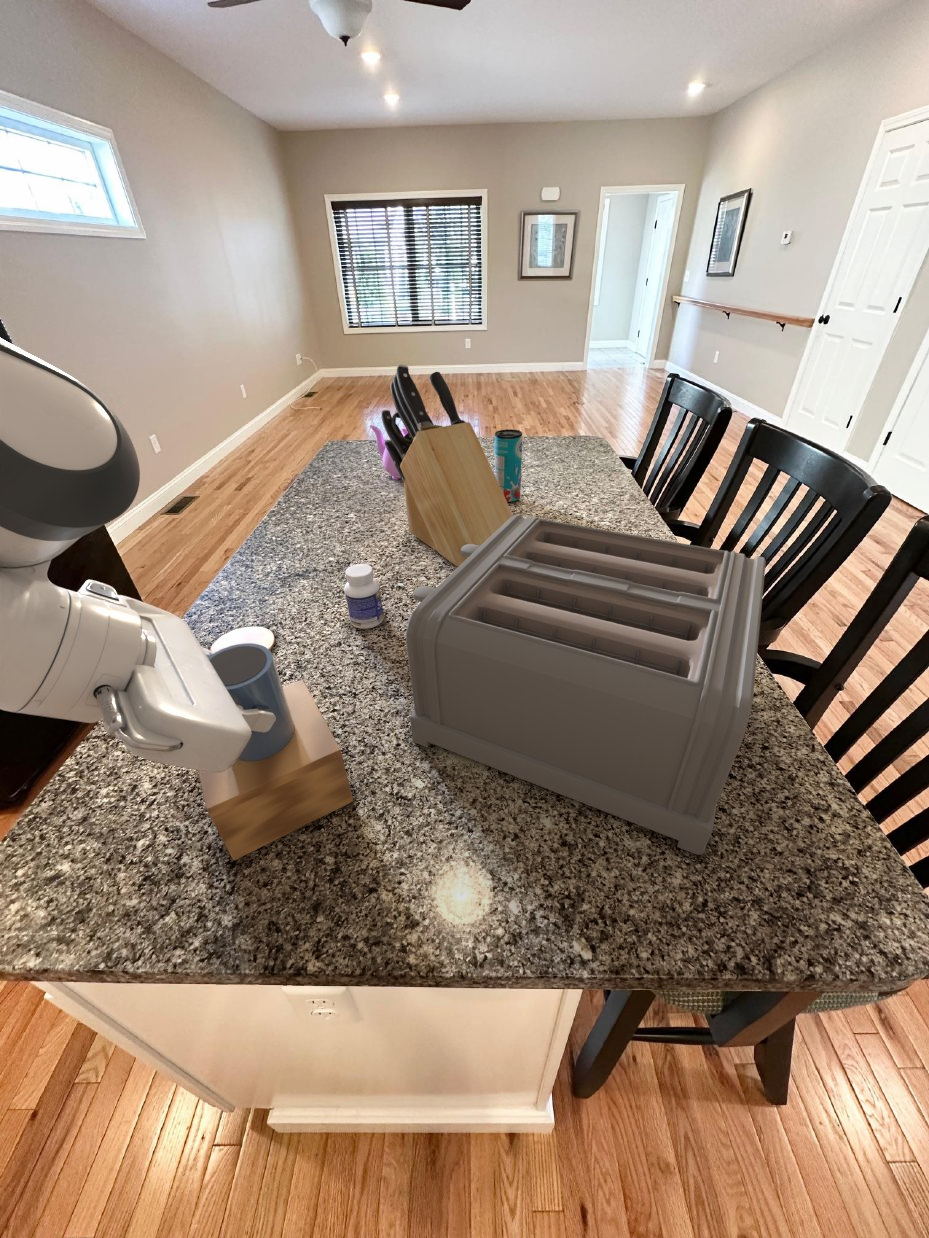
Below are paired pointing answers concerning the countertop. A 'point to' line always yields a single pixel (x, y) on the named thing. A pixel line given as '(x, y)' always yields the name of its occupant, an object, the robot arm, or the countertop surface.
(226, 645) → the coaster
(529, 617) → the toaster
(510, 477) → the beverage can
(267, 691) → the cup
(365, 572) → the pill bottle
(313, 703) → the wood block
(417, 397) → the knife block
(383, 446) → the teapot
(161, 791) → the countertop surface
